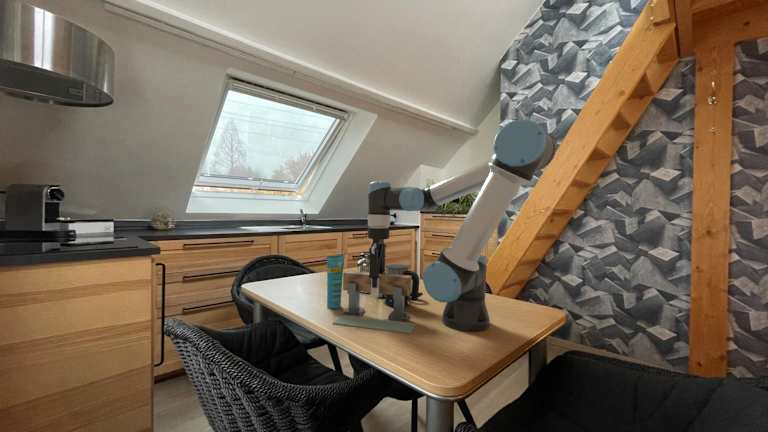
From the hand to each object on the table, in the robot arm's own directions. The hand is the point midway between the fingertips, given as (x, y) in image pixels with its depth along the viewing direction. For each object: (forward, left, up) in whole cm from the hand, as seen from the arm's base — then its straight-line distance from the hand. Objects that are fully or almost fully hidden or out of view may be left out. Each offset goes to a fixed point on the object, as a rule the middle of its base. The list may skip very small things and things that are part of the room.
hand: (376, 295), depth 116 cm
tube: (+17, -4, -7) cm, 19 cm away
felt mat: (-2, +9, -7) cm, 11 cm away
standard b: (+8, 0, -7) cm, 11 cm away
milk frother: (-6, -19, -7) cm, 22 cm away
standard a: (-8, 0, -7) cm, 11 cm away
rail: (0, 0, +1) cm, 1 cm away
